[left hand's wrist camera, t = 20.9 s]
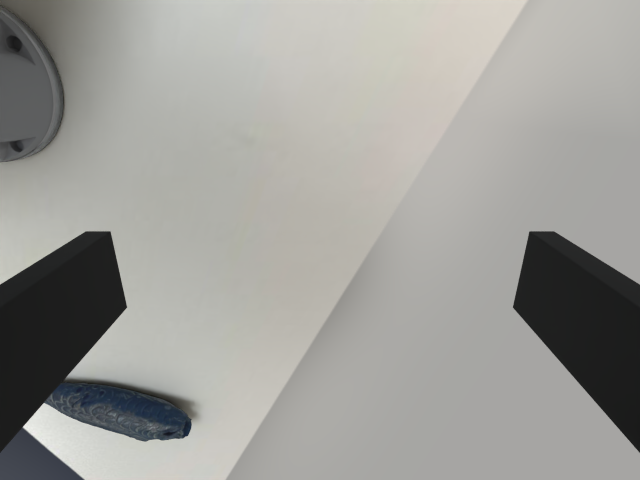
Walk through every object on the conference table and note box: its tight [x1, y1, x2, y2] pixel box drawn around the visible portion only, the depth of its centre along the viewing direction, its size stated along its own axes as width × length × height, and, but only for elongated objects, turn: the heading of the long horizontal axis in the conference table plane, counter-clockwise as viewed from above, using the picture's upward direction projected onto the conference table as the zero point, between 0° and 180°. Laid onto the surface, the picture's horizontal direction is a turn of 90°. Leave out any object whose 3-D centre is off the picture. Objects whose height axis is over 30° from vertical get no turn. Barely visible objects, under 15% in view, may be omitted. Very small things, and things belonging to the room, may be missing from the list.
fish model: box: [44, 383, 191, 441], centre depth 51 cm, size 7×21×5 cm, turn 77°
